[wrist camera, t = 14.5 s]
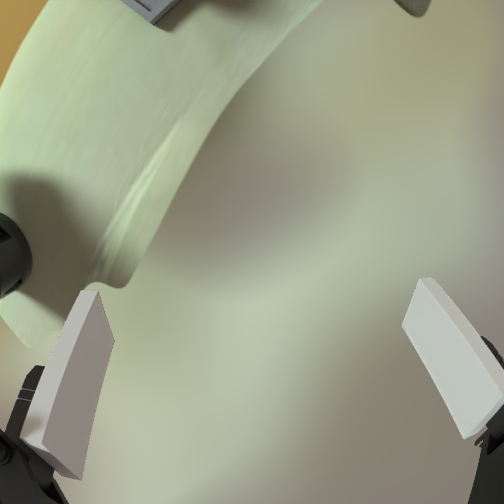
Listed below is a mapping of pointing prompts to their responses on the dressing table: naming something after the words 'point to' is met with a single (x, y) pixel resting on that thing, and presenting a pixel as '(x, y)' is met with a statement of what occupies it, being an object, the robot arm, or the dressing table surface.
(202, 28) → the dressing table surface
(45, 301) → the dressing table surface
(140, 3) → the tray
